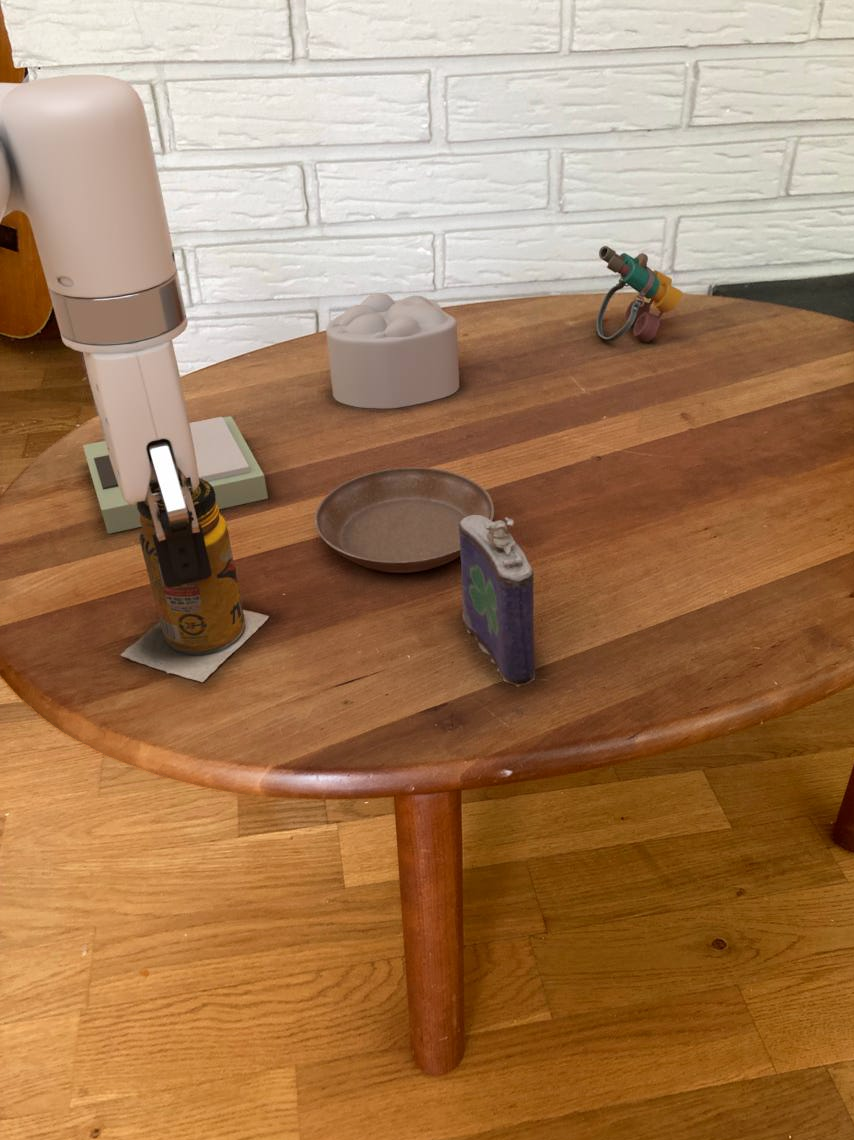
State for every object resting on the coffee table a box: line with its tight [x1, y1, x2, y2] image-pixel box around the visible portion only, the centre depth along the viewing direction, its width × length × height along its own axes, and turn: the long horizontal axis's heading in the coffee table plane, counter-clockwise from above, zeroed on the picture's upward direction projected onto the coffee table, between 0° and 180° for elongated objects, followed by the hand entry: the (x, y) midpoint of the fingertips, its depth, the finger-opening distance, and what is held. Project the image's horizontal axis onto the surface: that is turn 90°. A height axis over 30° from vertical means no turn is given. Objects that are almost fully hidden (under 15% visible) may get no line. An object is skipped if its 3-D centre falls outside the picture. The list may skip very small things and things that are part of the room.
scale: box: [82, 415, 269, 535], centre depth 98 cm, size 14×13×3 cm
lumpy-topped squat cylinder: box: [325, 293, 460, 409], centre depth 112 cm, size 10×13×9 cm
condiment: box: [120, 477, 270, 683], centre depth 76 cm, size 7×8×12 cm
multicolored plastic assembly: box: [596, 245, 683, 343], centre depth 121 cm, size 9×9×10 cm
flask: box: [459, 515, 536, 688], centre depth 75 cm, size 9×3×11 cm, turn 24°
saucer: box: [314, 466, 495, 574], centre depth 90 cm, size 15×15×3 cm
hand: (178, 554), depth 76 cm, fingers closed on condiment, 6 cm apart
